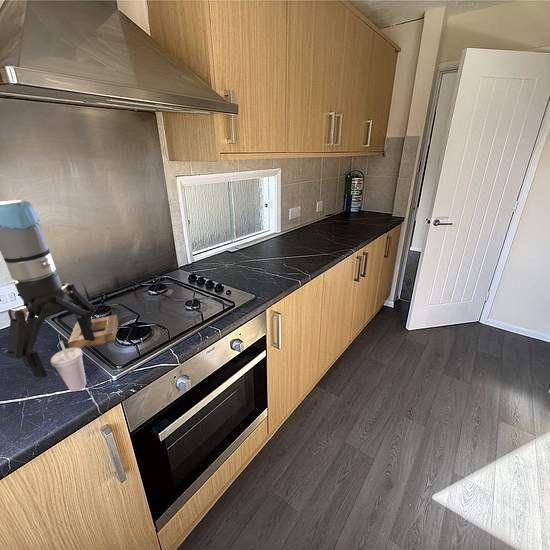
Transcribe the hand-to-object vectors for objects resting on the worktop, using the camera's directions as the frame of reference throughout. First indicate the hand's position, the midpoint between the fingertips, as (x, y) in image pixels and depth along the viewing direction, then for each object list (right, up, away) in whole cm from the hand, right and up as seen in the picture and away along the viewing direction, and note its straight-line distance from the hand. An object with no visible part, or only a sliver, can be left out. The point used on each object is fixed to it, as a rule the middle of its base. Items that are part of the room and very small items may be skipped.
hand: (67, 356), depth 71 cm
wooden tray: (-8, 0, +25) cm, 26 cm away
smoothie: (0, -9, +4) cm, 10 cm away
